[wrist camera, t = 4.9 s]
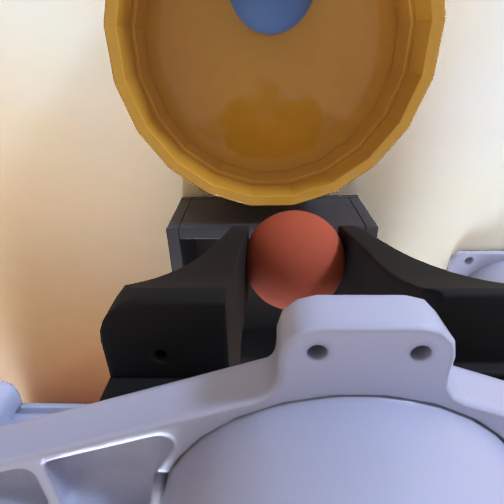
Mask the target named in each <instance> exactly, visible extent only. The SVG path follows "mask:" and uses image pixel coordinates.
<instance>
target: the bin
mask: <svg viewBox="0 0 504 504" xmlns="http://www.w3.org/2000/svg"><path fill="white" fill-rule="evenodd" d="M291 210H299V211H306V212H309V213H312V214H315V215H317V216H319V217H321V218H322V219H324V220H325V221H326V222H328V223H329V224H330V225H331V226H332V227H333V228H334V229H335V231H336V232H337V234H338V226H357V227H359V228H361V229H363V230H364V231H366V232H368V233H369V234H371V235H373V236H374V237H376V238H377V232H378V226H377V225H376V223H375V222H374V220H373V219H372V217H371V216H370V214H369V213H368V211H367V210H366V208H365V207H364V205H363V204H362V202H361V201H360V199H359V197H358V196H320V197H317V198H314V199H311V200H308V201H304V202H301V203H298V204H295V205H253V206H251V205H246V204H243V203H240V202H236V201H233V200H229V199H226V198H222V197H195V198H182V199H181V201H180V203H179V205H178V207H177V209H176V211H175V213H174V215H173V217H172V219H171V221H170V223H169V225H168V227H167V229H166V232H167V238H168V245H169V252H170V259H171V266H172V272H173V271H175V270H178V269H180V268H182V267H184V266H186V265H188V264H189V263H191V262H193V261H194V260H196V259H197V258H199V257H200V256H202V255H203V254H204V253H206V252H207V251H208V250H209V249H210V248H212V247H213V246H214V245H215V244H216V243H217V242H218V241H219V240H220V239H221V238H222V237H223V236H224V234H225V233H226V232H227V231H228V230H229V229H230V228H231V227H232V226H249V238H250V237H251V235H252V233H253V232H254V230H255V229H256V228H257V227H258V226H259V225H260V224H261V223H262V222H263V221H264V220H266V219H267V218H269V217H270V216H272V215H275V214H277V213H280V212H284V211H291ZM332 295H338V293H337V289H336V291H335V292H334V293H333V294H332ZM282 310H283V309H280V308H277V307H274V306H272V305H270V304H269V303H267V302H266V301H264V300H263V299H262V298H261V297H260V296H259V295H258V294H257V293H256V292H255V291H254V289H253V288H252V286H251V285H250V283H249V294H248V300H247V306H246V313H245V319H244V325H243V331H242V338H241V351H240V364H243V363H247V362H251V361H255V360H259V359H262V358H266V357H268V356H270V355H271V354H272V353H273V351H274V350H275V346H276V335H277V324H278V321H279V318H280V316H281V313H282Z"/></svg>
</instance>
